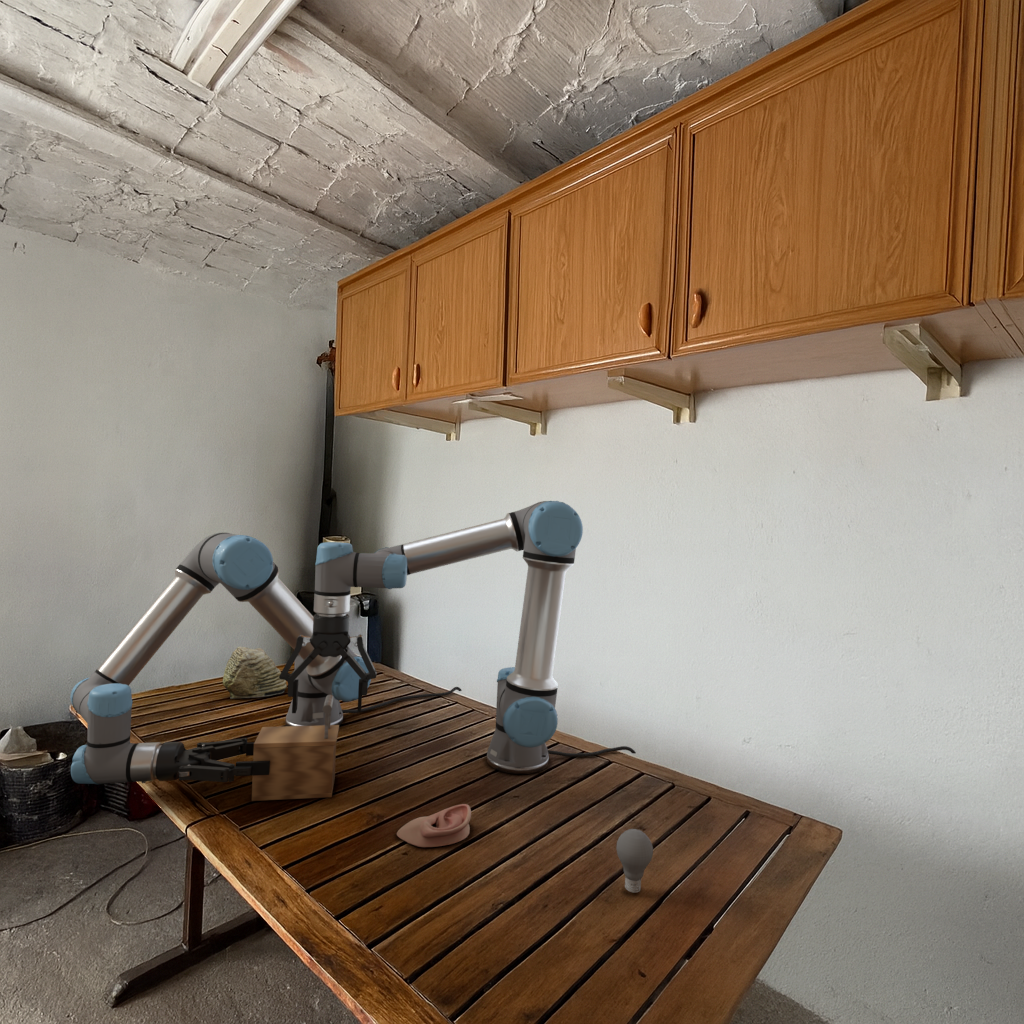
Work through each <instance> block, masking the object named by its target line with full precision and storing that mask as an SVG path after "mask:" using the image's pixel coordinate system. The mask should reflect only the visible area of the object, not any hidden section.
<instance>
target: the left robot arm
mask: <svg viewBox="0 0 1024 1024" xmlns="http://www.w3.org/2000/svg"><path fill="white" fill-rule="evenodd" d="M174 574H175V575H174V577H173V579H172V580H170V582H169V583H168V585H167V586H166V587H165V588H164V589H163V590H162V592H161V593H160V594H159V595H158V596H157V597H156V598H155V600H154V601H153V602H152V603H151V604H150V606H149V607H148V608H147V609H146V610H145V612H144V613H143V614H142V615H141V616H140V617H139V618H138V620H137V621H136V622H135V624H134V625H133V626H132V627H131V628H130V630H129V631H128V632H127V633H126V634H125V635H124V637H123V638H122V639H121V640H120V641H119V642H118V643H117V645H116V646H115V647H114V648H113V650H111V652H110V653H109V654H108V655H107V657H106V658H104V660H103V661H102V663H101V664H99V666H98V667H97V668H96V670H94V672H93V673H92V674H91V675H90V676H89V677H85V678H83V679H82V680H80V681H79V682H77V683H76V684H75V685H74V686H73V687H72V690H71V691H70V697H69V698H70V699H69V700H70V702H71V705H72V708H73V710H74V711H75V712H76V713H77V714H78V715H80V717H81V718H82V719H83V720H84V721H85V722H86V724H87V725H86V726H87V731H86V732H87V733H86V734H87V735H86V736H87V739H86V744H83V745H81V746H79V747H78V748H77V749H76V751H75V752H74V754H73V756H72V763H71V765H70V776H71V779H72V781H73V782H74V783H76V784H81V785H82V784H83V785H103V784H119V783H141V784H144V785H145V784H146V783H147V782H155V781H156V780H158V781H159V782H171V781H174V782H175V781H177V780H178V781H203V782H213V783H214V782H216V783H228V782H229V783H231V782H234V781H235V777H253V776H256V775H269V773H270V761H253V760H246V761H244V760H243V761H236V762H235V763H230V762H225V761H220V760H224V759H228V758H232V757H238V756H241V755H242V756H243V755H245V756H246V757H253V753H254V743H255V741H250V742H249V741H248V737H242V738H235V739H227V740H225V739H224V740H218V741H208V742H207V741H206V742H205V741H204V742H201V741H200V742H197V743H196V747H193V748H189V749H186V748H185V744H184V743H183V742H182V741H167V742H164V743H162V742H160V741H157V742H155V741H154V742H135V743H133V742H131V729H132V709H133V708H132V707H133V702H134V701H133V696H132V688H131V686H130V685H131V683H132V682H133V681H134V680H135V679H136V677H137V676H138V675H139V674H140V673H141V672H142V670H143V669H144V668H145V666H146V665H147V664H148V663H149V662H150V660H151V659H152V658H153V657H154V655H155V654H156V653H157V652H158V651H159V650H160V648H161V647H162V646H163V644H164V643H165V642H166V641H167V639H169V638H170V636H171V635H172V634H173V632H174V631H175V630H176V629H177V627H178V626H179V625H180V623H182V621H184V619H185V618H186V616H187V615H188V614H189V613H190V612H191V610H192V609H193V608H194V607H195V605H196V604H197V603H198V602H199V600H201V598H202V597H203V596H204V595H209V594H211V593H212V592H213V590H214V589H215V588H216V587H217V586H218V585H219V584H221V585H222V586H223V587H224V589H226V590H227V591H228V593H230V595H231V596H232V597H234V599H236V601H237V602H240V603H249V604H250V605H251V606H252V608H254V610H255V611H257V612H258V614H259V615H260V616H261V617H262V618H263V619H264V620H265V621H266V622H267V623H268V624H269V625H270V626H271V627H272V629H274V631H276V632H277V634H278V635H279V636H280V637H281V638H282V639H283V640H284V641H285V642H286V643H287V644H288V645H289V646H290V647H291V648H292V650H294V649H295V647H296V643H297V638H298V636H299V635H300V634H303V635H304V636H308V637H311V636H312V634H313V617H314V615H313V614H312V613H311V612H310V611H309V610H308V609H307V608H306V607H305V606H304V605H303V604H302V602H301V601H300V600H299V599H298V598H297V596H296V595H294V593H293V592H292V591H291V590H290V589H289V588H288V587H287V586H286V584H285V583H284V582H283V581H282V580H281V578H279V574H280V568H279V567H278V566H277V564H276V563H275V562H274V558H273V554H272V552H271V550H270V549H269V547H268V546H267V545H266V544H265V543H264V542H262V541H260V540H259V539H258V538H255V537H252V536H250V535H245V534H235V533H231V532H215V533H213V534H210V535H208V536H205V537H204V538H203V539H202V540H200V541H198V543H197V544H196V545H195V546H194V547H193V549H191V550H190V551H189V553H188V554H186V556H185V558H184V559H183V560H182V561H181V562H180V564H179V565H178V566H177V567H176V568H175V569H174ZM346 648H347V649H348V651H349V652H350V654H351V655H352V656H353V657H354V659H355V660H356V661H357V662H358V663H359V665H360V666H361V667H362V668H363V669H364V671H365V672H366V673H369V672H368V670H367V668H366V665H365V663H364V661H363V659H362V657H361V656H359V655H357V654H356V653H355V652H354V651H353V650H352V649H351V648H350V647H349V645H348V646H347V647H346ZM313 650H314V648H313V646H312V645H311V643H310V642H308V643H307V644H306V646H302V648H301V650H300V652H299V654H298V656H297V657H296V659H295V661H294V670H295V669H296V668H297V667H298V666H299V665H300V664H301V663H302V662H303V661H304V659H305V658H306V657H307V656H308V655H309V654H310V653H311V652H312V651H313ZM294 670H293V671H294ZM296 679H299V682H298V705H297V711H296V713H292V702H293V698H292V699H291V702H290V704H289V708H288V711H287V713H286V715H285V726H321V725H325V713H324V712H323V706H324V702H325V699H326V696H327V695H333V696H334V702H333V706H332V710H331V721H330V725H339V726H340V725H342V723H343V722H344V714H359V713H365V712H368V711H371V710H372V711H373V710H374V709H379V708H382V707H385V706H387V705H390V704H393V703H396V702H400V701H405V700H411V699H412V700H413V699H420V698H431V697H433V698H434V697H442V696H444V697H445V696H449V695H451V694H453V692H455V691H457V692H462V691H463V690H462V689H461V688H460V687H459V686H454V687H453V688H452V689H450V690H449V691H443V692H438V693H437V692H436V693H423V694H413V695H405V696H401V697H396V698H392V699H389V700H387V701H384V702H381V703H378V704H377V703H376V704H374V705H371V706H367V707H364V708H361V712H358V708H356V709H342V706H341V702H344V703H350V702H353V701H357V700H358V690H359V679H361V678H360V677H359V676H358V674H357V673H356V672H355V671H354V670H353V668H352V667H351V666H350V665H349V664H348V662H347V661H346V660H345V659H344V658H343V657H342V656H341V655H339V656H337V657H331V656H328V657H322V656H320V655H319V654H318V655H317V657H316V658H315V659H314V660H313V661H312V662H311V663H310V664H309V665H308V666H307V667H306V668H305V669H304V670H303V671H302V672H301V673H300V675H299V676H298V677H297V678H296ZM371 681H372V679H370V680H369V681H368V688H369V686H370V684H371ZM340 701H341V702H340Z"/></svg>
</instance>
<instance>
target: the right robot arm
mask: <svg viewBox="0 0 1024 1024" xmlns="http://www.w3.org/2000/svg"><path fill="white" fill-rule="evenodd" d="M583 533H584V526H583V521H582V519H581V517H580V515H579V513H578V512H577V511H576V510H575V509H574V508H573V507H572V506H571V505H569V504H567V503H565V502H563V501H559V500H542V501H538V502H536V503H534V504H531V505H529V506H526V507H524V508H522V509H519V510H515V511H512V512H508V513H506V515H505V516H504V518H501V519H496V520H493V521H489V522H485V523H480V524H477V525H473V526H469V527H465V528H461V529H457V530H453V531H449V532H445V533H442V534H437V535H433V536H430V537H425V538H422V539H416V540H413V541H409V542H405V543H402V544H398V545H393V546H388V547H387V546H386V547H385V546H384V547H382V548H379V549H377V550H376V551H374V552H372V553H371V552H370V553H369V552H355V551H354V548H353V544H351V543H349V542H339V541H326V542H325V541H324V542H321V543H319V545H318V546H317V550H316V557H315V558H316V560H315V563H314V565H315V569H314V571H315V573H314V575H315V576H314V597H313V599H314V600H313V612H314V615H313V634H312V636H311V637H308V636H304V635H303V634H300V635H299V636H298V638H297V643H296V647H295V649H293V651H292V652H291V654H290V656H289V658H288V659H287V662H286V663H285V665H284V667H283V669H282V670H281V671H280V672H281V674H280V676H279V678H280V679H281V680H286V683H287V697H288V698H291V697H292V699H293V702H292V701H291V702H292V713H296V711H297V705H298V682H299V679H296V678H297V677H298V676H299V675H300V673H301V672H302V671H303V670H304V669H305V668H306V667H307V666H308V665H309V664H310V663H311V662H312V661H313V660H314V659H315V658H316V657H317V655H318V654H319V655H320V656H322V657H328V656H331V657H337V656H339V655H341V656H342V657H343V658H344V659H345V660H346V661H347V662H348V664H349V665H350V666H351V667H352V668H353V670H354V671H355V672H356V673H357V674H358V676H359V677H360V678H361V679H359V690H358V699H357V709H358V712H359V713H362V712H361V709H362V703H363V702H362V701H363V696H364V697H365V696H367V695H368V690H369V689H368V688H369V687H368V681H369V680H370V679H371V680H375V679H377V670H376V668H375V666H374V664H373V662H372V659H371V657H370V655H369V653H368V651H367V649H366V647H365V645H364V644H365V643H364V635H363V634H358V635H356V636H350V631H349V630H350V615H349V614H348V613H350V612H351V588H370V589H371V588H373V589H387V590H392V589H403V588H405V587H406V586H407V579H408V578H407V577H408V576H410V575H413V574H417V573H421V572H424V571H428V570H433V569H437V568H441V567H445V566H450V565H452V564H457V563H461V562H464V561H468V560H473V559H476V558H481V557H484V556H489V555H492V554H497V553H501V552H504V551H507V550H513V551H515V552H522V559H523V560H524V562H525V563H526V564H527V573H526V580H525V588H524V595H523V603H522V610H521V620H520V627H519V633H518V634H519V635H518V641H517V649H516V656H515V657H516V658H515V665H514V666H510V667H508V666H507V667H503V668H501V669H499V670H498V673H497V679H496V683H497V684H496V685H497V688H496V707H495V708H496V709H495V728H494V729H495V730H494V732H493V735H492V738H491V740H490V743H489V746H488V748H487V752H486V762H487V765H489V766H490V767H491V768H493V769H494V770H496V771H499V772H502V773H507V774H513V775H529V774H535V773H538V772H541V771H543V770H545V769H546V768H547V767H548V766H549V759H550V755H552V756H553V755H554V756H561V757H566V758H586V757H595V756H599V755H603V754H607V753H613V752H619V751H628V752H630V753H631V754H633V755H634V754H637V752H636V751H635V749H633V748H631V747H630V746H626V745H622V746H616V747H610V748H603V749H601V750H600V749H599V750H597V751H590V752H579V753H578V752H576V753H575V752H574V753H573V752H562V751H559V750H550V749H548V746H547V742H548V741H550V740H552V737H553V736H554V735H555V733H556V731H557V728H558V723H559V719H558V712H557V710H556V703H557V696H558V688H559V683H558V682H557V681H556V680H555V678H554V676H553V675H554V674H553V673H554V668H555V667H554V666H555V658H556V651H557V644H558V643H557V642H558V637H559V636H558V635H559V628H560V620H561V615H562V614H561V612H562V605H563V597H564V589H565V582H566V575H567V572H568V570H569V569H570V568H572V567H573V566H574V565H575V559H576V551H577V547H579V545H580V543H581V541H582V538H583ZM308 642H310V643H311V645H312V646H313V648H314V650H313V651H312V652H311V653H310V654H309V655H308V656H307V657H306V658H305V659H304V661H303V662H302V663H301V664H300V665H299V666H298V667H297V668H296V669H295V670H293V671H292V672H291V673H289V672H290V670H291V668H292V667H293V664H295V659H296V657H297V656H298V654H299V652H300V650H301V648H302V646H306V644H307V643H308ZM351 643H352V644H353V646H354V647H356V648H357V649H358V653H359V655H360V657H362V659H363V661H364V663H365V665H366V668H367V670H368V672H369V673H366V672H365V671H364V669H363V668H362V667H361V666H360V665H359V663H358V662H357V661H356V660H355V659H354V657H353V656H352V655H351V654H350V652H349V651H348V649H347V648H346V647H347V646H348V647H349V645H350V644H351Z"/></svg>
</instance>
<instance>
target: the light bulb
mask: <svg viewBox="0 0 1024 1024" xmlns="http://www.w3.org/2000/svg"><path fill="white" fill-rule="evenodd" d="M615 849H616V854H617V857H618V859H619V861H620V863H621V865H622V867H623V873H624V874H623V875H624V876H625V878H624V888H625V890H627V891H628V892H630V893H634V894H635V893H639V892H640V891H641V889H642V887H641V886H642V879H643V877H644V875H645V871H646V868H647V867H648V866H649V864H650V863H651V861H652V859H653V855H654V847H653V843H652V841H651V838H649V836H648V835H647V834H646V833H645V832H643V831H642V830H641V829H636V828H629V829H627V830H625V831H623V832H622V833H621V834H620V835H619V837H618V839H617V841H616V847H615Z"/></svg>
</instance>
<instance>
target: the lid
mask: <svg viewBox="0 0 1024 1024" xmlns="http://www.w3.org/2000/svg"><path fill="white" fill-rule="evenodd" d="M333 702H334V696H333V695H327V696H326V699H325V702H324V706H323V712H324V713H325V725H321V726H286V725H285V726H284V725H283V726H262V727H261V729H260V730H259V733H258V735H257V736H256V739H255V741H254V742H255V743H254V748H271V747H302V746H334V745H336V746H337V742H338V736H339V730H340V725H330V721H331V710H332V706H333Z"/></svg>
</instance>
